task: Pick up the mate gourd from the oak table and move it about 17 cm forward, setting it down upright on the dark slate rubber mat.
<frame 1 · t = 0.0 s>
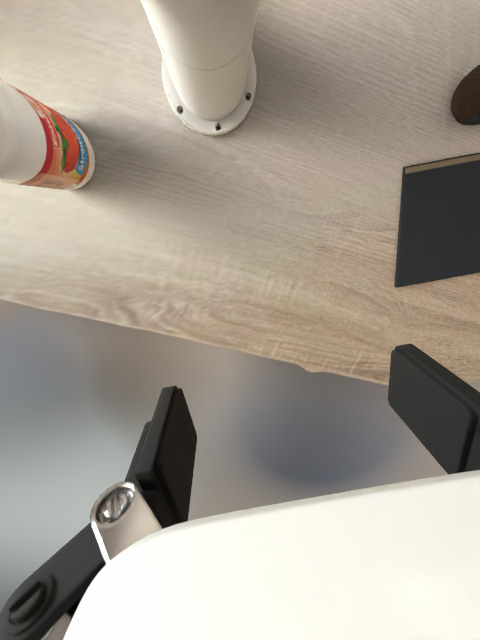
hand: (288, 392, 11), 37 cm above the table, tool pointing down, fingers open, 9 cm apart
mate gourd: (466, 102, 38), on the table
mat: (449, 222, 45), on the table
strawberry milk bottle: (64, 155, 38), on the table
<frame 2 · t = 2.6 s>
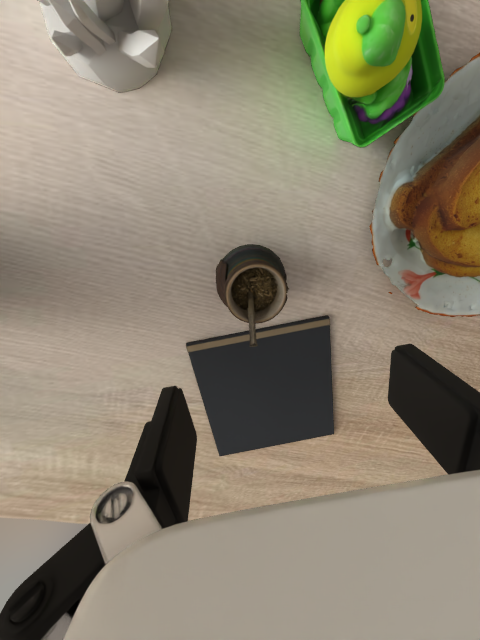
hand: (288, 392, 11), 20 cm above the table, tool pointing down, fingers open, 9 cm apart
crystal: (100, 11, 20), on the table
fruit basket: (339, 78, 23), on the table
food on plate: (476, 201, 28), on the table
mate gourd: (247, 274, 30), on the table
mat: (267, 391, 36), on the table
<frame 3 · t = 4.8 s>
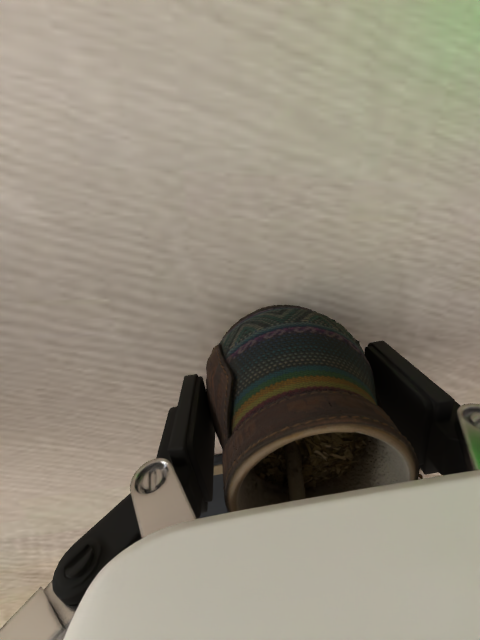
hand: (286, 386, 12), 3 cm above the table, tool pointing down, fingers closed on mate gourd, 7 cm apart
mate gourd: (273, 351, 15), on the table, touching gripper
mat: (298, 528, 21), on the table
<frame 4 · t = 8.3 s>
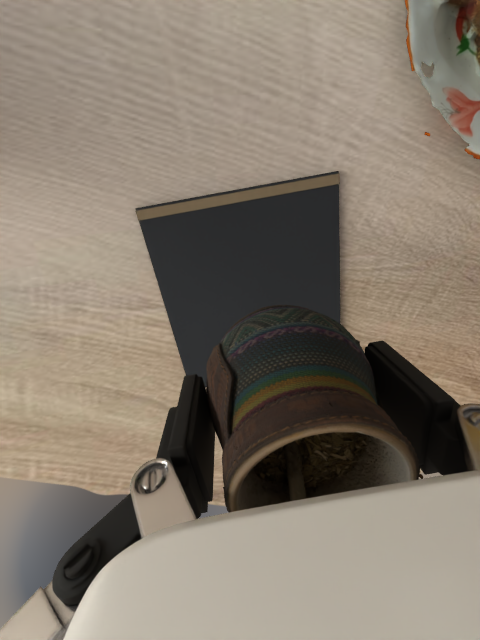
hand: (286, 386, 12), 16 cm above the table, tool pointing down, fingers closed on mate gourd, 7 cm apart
mate gourd: (274, 351, 15), point 13 cm above the table, touching gripper
mat: (252, 295, 27), on the table
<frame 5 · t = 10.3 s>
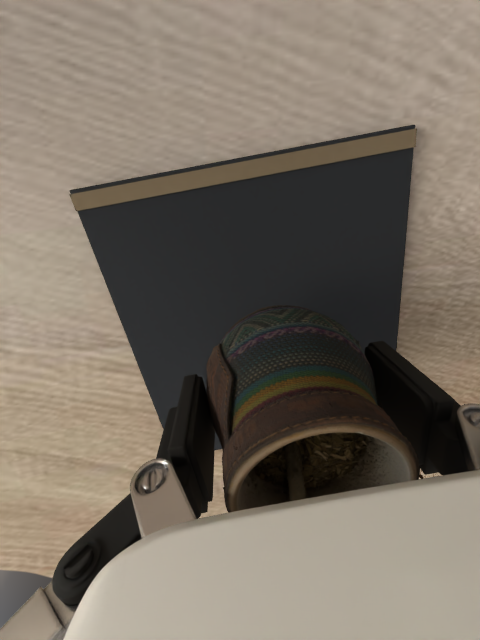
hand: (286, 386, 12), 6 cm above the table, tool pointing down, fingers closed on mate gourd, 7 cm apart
mate gourd: (274, 351, 15), point 3 cm above the table, touching gripper
mat: (264, 327, 18), on the table
when the fingers open (3 cm above the table, at t = 11.8 s): mate gourd stays where it is, resting on mat.
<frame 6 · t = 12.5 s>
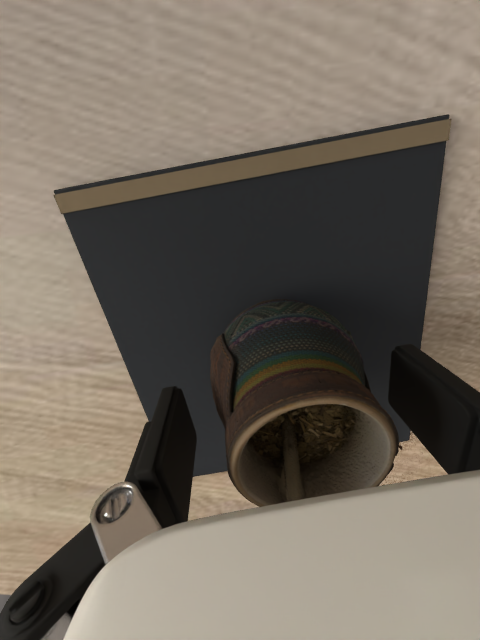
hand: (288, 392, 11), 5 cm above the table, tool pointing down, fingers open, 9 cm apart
mate gourd: (273, 344, 16), resting on mat
mat: (273, 341, 16), on the table
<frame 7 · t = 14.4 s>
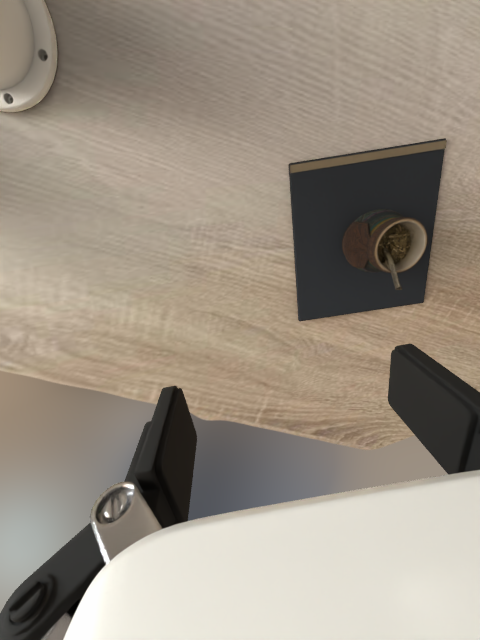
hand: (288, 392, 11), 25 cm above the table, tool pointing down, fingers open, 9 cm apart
mate gourd: (363, 240, 34), resting on mat
mat: (361, 240, 34), on the table
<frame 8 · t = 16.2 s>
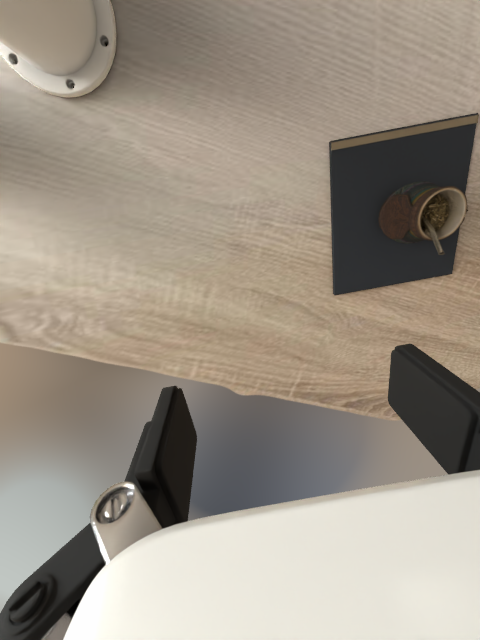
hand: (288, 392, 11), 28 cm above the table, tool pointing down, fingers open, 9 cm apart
mate gourd: (396, 214, 35), resting on mat
mat: (395, 214, 36), on the table
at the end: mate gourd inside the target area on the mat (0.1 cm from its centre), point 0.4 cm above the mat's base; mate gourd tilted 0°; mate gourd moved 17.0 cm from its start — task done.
